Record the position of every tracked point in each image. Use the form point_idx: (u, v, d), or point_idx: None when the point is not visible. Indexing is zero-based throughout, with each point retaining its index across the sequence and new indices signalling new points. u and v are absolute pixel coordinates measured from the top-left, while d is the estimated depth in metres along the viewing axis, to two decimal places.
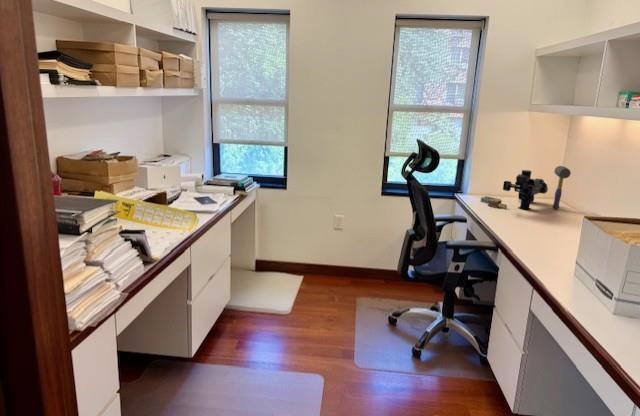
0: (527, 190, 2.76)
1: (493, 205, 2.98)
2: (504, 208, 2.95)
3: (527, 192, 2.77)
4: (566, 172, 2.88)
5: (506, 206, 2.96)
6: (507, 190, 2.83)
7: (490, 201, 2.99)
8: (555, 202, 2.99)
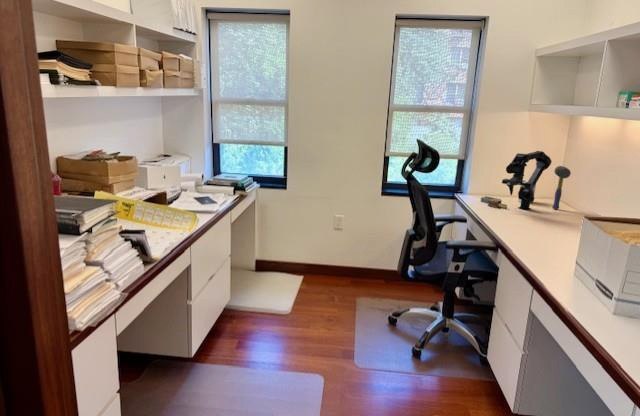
0: (524, 187, 2.85)
1: (493, 205, 2.98)
2: (504, 208, 2.95)
3: (525, 187, 2.85)
4: (566, 172, 2.88)
5: (506, 206, 2.96)
6: None
7: (490, 201, 2.99)
8: (555, 202, 2.99)
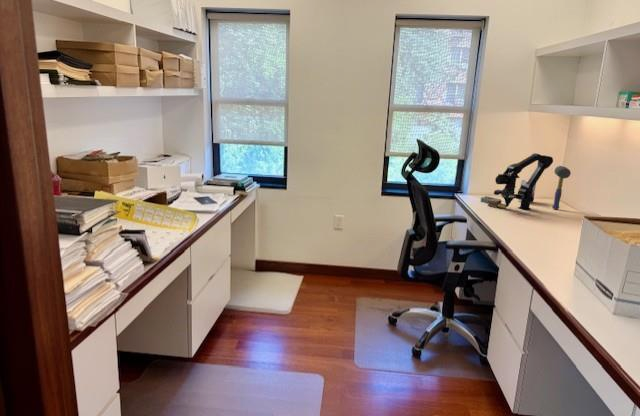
0: None
1: (493, 205, 2.98)
2: (504, 208, 2.95)
3: None
4: (566, 172, 2.88)
5: None
6: None
7: (490, 201, 2.99)
8: (555, 202, 2.99)
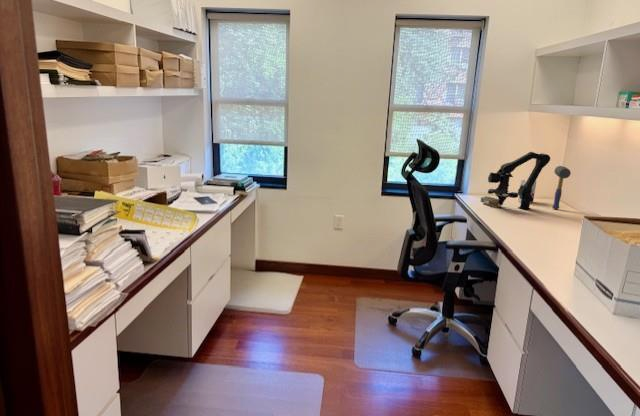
0: (505, 196, 2.94)
1: (493, 205, 2.98)
2: (498, 207, 2.98)
3: (506, 196, 2.95)
4: (566, 172, 2.88)
5: None
6: None
7: (490, 201, 2.99)
8: (555, 202, 2.99)
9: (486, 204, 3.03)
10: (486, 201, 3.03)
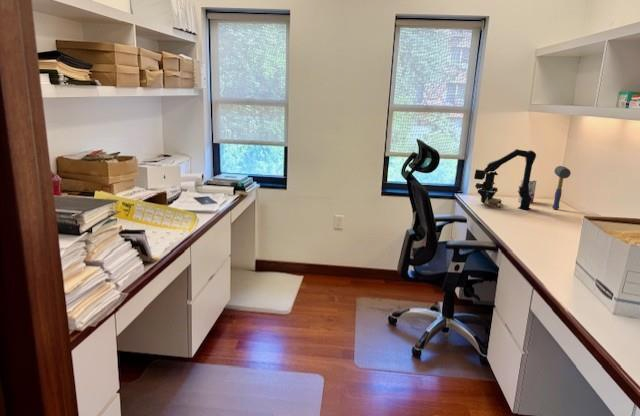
0: None
1: (493, 205, 2.98)
2: (498, 207, 2.98)
3: (484, 195, 2.98)
4: (566, 172, 2.88)
5: (500, 205, 2.99)
6: (492, 196, 3.05)
7: (490, 201, 2.99)
8: (555, 202, 2.99)
9: (486, 204, 3.03)
10: (486, 201, 3.04)
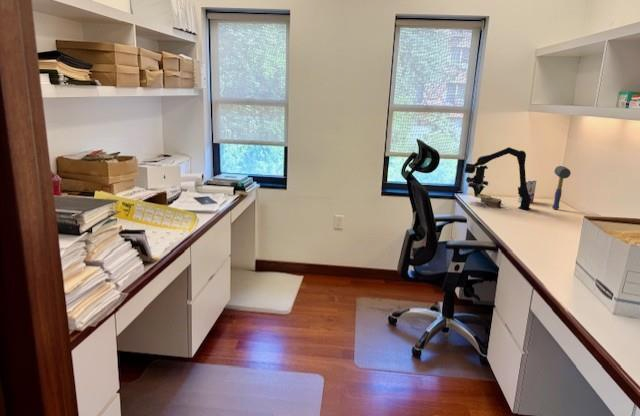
0: None
1: (493, 205, 2.98)
2: (488, 199, 3.02)
3: (477, 188, 3.04)
4: (566, 172, 2.88)
5: (490, 197, 3.03)
6: (481, 190, 3.08)
7: (490, 201, 2.99)
8: (555, 202, 2.99)
9: (477, 196, 3.08)
10: None
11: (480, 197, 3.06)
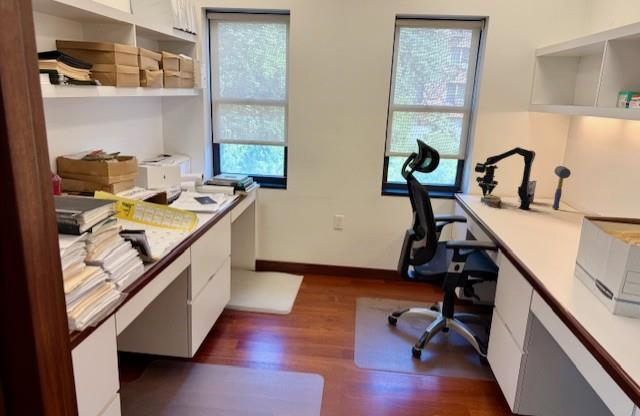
0: None
1: (493, 205, 2.98)
2: None
3: (485, 188, 3.06)
4: (566, 172, 2.88)
5: (500, 198, 3.07)
6: (492, 189, 3.13)
7: (490, 201, 2.99)
8: (555, 202, 2.99)
9: (486, 197, 3.12)
10: (487, 194, 3.12)
11: (490, 198, 3.10)
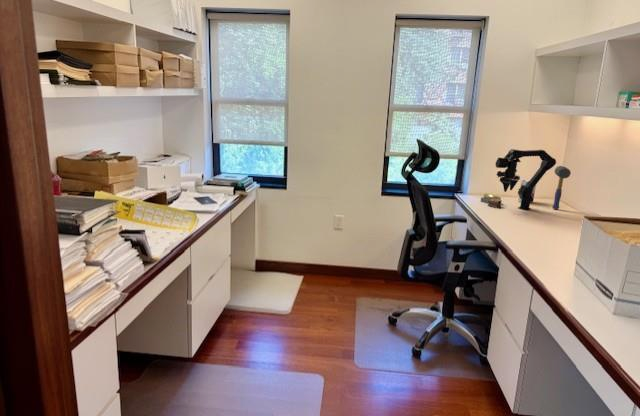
0: (505, 182, 2.88)
1: (493, 205, 2.98)
2: None
3: (507, 183, 2.87)
4: (566, 172, 2.88)
5: (500, 198, 3.07)
6: (514, 184, 2.95)
7: (490, 201, 2.99)
8: (555, 202, 2.99)
9: (486, 197, 3.12)
10: (487, 194, 3.12)
11: (490, 198, 3.10)
